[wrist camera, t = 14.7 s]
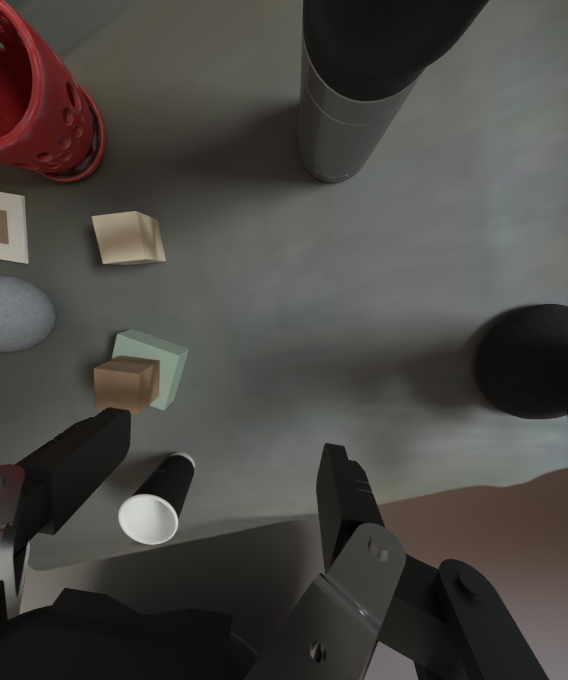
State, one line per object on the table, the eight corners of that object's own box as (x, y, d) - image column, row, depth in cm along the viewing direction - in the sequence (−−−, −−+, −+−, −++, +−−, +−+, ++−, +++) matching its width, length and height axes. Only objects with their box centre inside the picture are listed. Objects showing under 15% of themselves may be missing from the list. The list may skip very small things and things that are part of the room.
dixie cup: (164, 437, 46) (124, 487, 35) (209, 453, 46) (184, 507, 35) (152, 475, 47) (112, 534, 37) (196, 490, 48) (168, 552, 37)
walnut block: (121, 355, 39) (93, 368, 33) (159, 360, 39) (138, 373, 33) (121, 391, 40) (95, 409, 35) (159, 396, 40) (138, 414, 35)
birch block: (119, 224, 38) (91, 216, 33) (158, 220, 38) (135, 211, 32) (128, 265, 39) (103, 263, 34) (166, 261, 39) (145, 259, 34)
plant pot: (111, 202, 37) (29, 170, 26) (16, 171, 37) (-112, 123, 25) (128, 95, 34) (44, 3, 23) (25, 58, 34) (-116, -55, 22)
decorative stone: (-6, 292, 41) (-100, 298, 31) (47, 263, 40) (-33, 260, 30) (34, 351, 43) (-42, 374, 33) (86, 325, 42) (23, 341, 32)
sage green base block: (133, 328, 42) (117, 333, 38) (189, 348, 42) (179, 355, 38) (121, 379, 44) (104, 390, 40) (175, 398, 44) (163, 410, 40)
